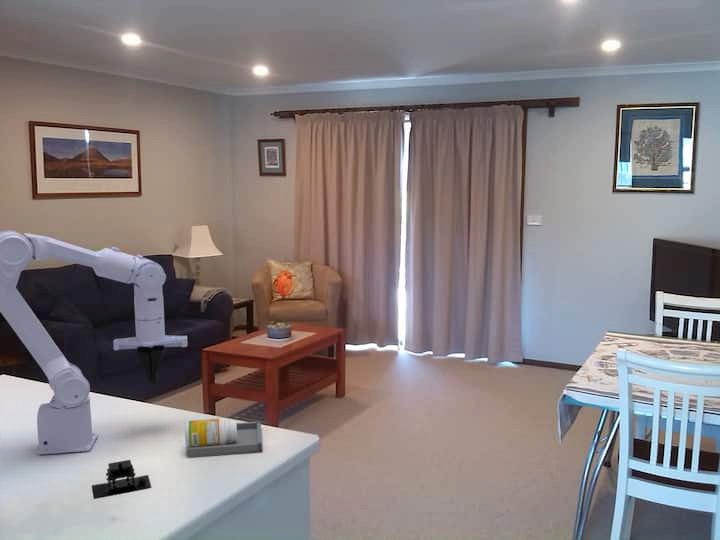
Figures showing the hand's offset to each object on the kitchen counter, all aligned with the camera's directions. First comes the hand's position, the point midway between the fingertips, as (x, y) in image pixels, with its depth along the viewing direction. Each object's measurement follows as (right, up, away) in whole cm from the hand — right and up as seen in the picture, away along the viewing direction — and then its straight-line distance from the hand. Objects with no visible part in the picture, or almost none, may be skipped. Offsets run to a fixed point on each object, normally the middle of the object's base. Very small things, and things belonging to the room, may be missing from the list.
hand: (153, 381), depth 138 cm
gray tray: (+16, -11, -6) cm, 21 cm away
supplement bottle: (+9, -9, -10) cm, 16 cm away
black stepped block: (+2, -15, -24) cm, 28 cm away
